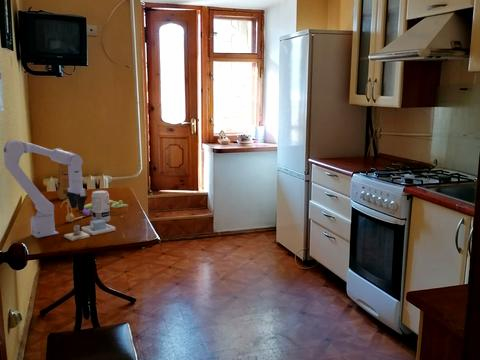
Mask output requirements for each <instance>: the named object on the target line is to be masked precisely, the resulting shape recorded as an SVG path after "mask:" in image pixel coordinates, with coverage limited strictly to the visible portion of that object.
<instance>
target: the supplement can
mask: <svg viewBox="0 0 480 360" xmlns="http://www.w3.org/2000/svg"><path fill="white" fill-rule="evenodd" d="M90 197H91V203H92V208H91V209H92V211H91V212H92V221H94V220H99V219H101V220H104V221H106V223H109V222H110V221H111V211H110V207H111V205H110V204H109V200H110V194H109V192H108V191H107V190H94V191H92V193H91V196H90Z"/></svg>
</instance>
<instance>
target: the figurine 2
mask: <svg viewBox="0 0 480 360" xmlns="http://www.w3.org/2000/svg"><path fill="white" fill-rule="evenodd" d="M110 204H111V205H110ZM109 205H110V207H111V208H114V209H115V208H122V207H128V206H129V205H128V204H126V203H123V200H121V199H120V200H118V201H116V200H115V201H114V200H113V199H109ZM76 209H77V210H78V207H77V206H76ZM82 215H85V216H91V215H92V202H90V203H88V204H85V205H84V210H83V211H82Z"/></svg>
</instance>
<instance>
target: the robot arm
mask: <svg viewBox="0 0 480 360" xmlns="http://www.w3.org/2000/svg"><path fill="white" fill-rule="evenodd" d="M29 153H35V154H38V155H42V156H46V157H49V158H50V161H52V162H56V163H58V164H59V163H62V164H68V174H69V188H68V192H69V193H66V196H67V197H68V199H69V202H70V205H71V208H72V209H75V208H76V209H77V207H78V209H77V211H78V212H81V211H82V212H83V210H84V206H85V205H86V201H87V198H88V195H86V189H85V188H83V187H84V186H83V173H82V172H83V171H82V165H83V163H84V161H83V159H82V156H80V155H79V154H76V153H74V152H73V151H65V150H63V148H60V147H58V148H53V149H49V148H46V147H43V146H40V145H37V144H34V143H31V142H27V141H22V140H21V141H18V140H15V139H10V140H8V141H6V143H5V144H4V148H3V157H4V158H3V159H4V160H3V161H4V167H5V169H6V170H7V171H8V173H10V175H11V176H12V177H13V178H14V179H15V180H16V182H17V183H18V185H20V187H21V188H22V189H23V190H24V192H25V193H26V194H27V196H28V197H29V198H30V199H31V201H32V202H33V204H34V208H35V210H37V212H36V213H35V215H34V216H31V217H30V222H29V223H30V235H31V236H33V237H35V238H37V239H38V238H43V237H48V236H53V235H58V234H59V232H58V231H57V230H56V227H55V226H56V225H55V224H56V223H55V213H54V211H55V205H54V204H53V203H52V202H51V201H49V199H47V198H46V197H45V196H44V195H43V194H42V193H41V191H40V190H39V189H38V188H37V186H36V185H35V184H34V183H33V181H32V180H31V179H30V178H29V176H28V175H27V174H26V173H25V172H24V170H23V169H22V167H21V166H20V164H19V163H20V160H21V157H22V156H23V155H24V154H29ZM71 208H70V209H71Z"/></svg>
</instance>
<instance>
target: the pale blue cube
mask: <svg viewBox="0 0 480 360" xmlns="http://www.w3.org/2000/svg"><path fill="white" fill-rule="evenodd" d="M106 224H107V222H106V221H104V220H101V219H99V220H94V221H93V220H89V226H90V230H92V231H98V230H103V229H106Z"/></svg>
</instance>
